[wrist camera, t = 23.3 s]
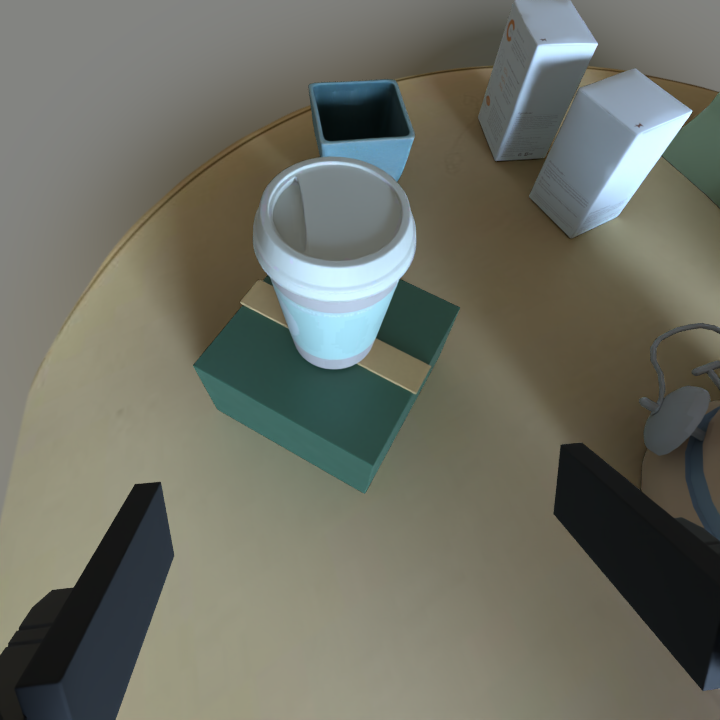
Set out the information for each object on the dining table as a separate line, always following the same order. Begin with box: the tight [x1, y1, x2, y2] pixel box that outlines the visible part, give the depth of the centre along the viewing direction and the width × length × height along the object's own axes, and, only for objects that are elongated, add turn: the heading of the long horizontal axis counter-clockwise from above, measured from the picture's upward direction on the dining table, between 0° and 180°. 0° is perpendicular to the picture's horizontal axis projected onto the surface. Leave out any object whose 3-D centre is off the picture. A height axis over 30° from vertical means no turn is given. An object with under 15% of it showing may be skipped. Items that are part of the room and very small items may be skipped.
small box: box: [478, 0, 598, 161], centre depth 52 cm, size 8×6×13 cm
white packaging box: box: [529, 68, 692, 238], centre depth 47 cm, size 7×7×13 cm
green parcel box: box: [193, 275, 460, 494], centre depth 38 cm, size 14×14×8 cm
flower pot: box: [308, 79, 415, 181], centre depth 49 cm, size 9×9×9 cm
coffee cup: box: [253, 157, 416, 369], centre depth 29 cm, size 8×8×12 cm
